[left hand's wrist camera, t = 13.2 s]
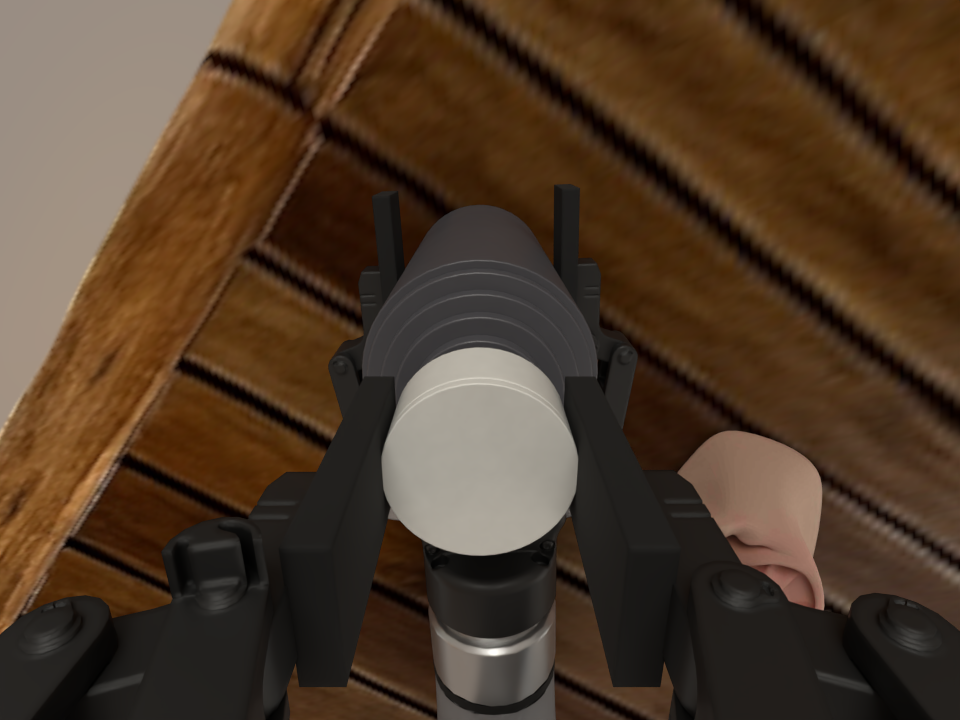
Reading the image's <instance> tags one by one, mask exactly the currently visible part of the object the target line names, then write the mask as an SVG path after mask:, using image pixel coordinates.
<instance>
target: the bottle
mask: <svg viewBox="0 0 960 720" xmlns="http://www.w3.org/2000/svg"><path fill="white" fill-rule="evenodd" d="M476 347H477V348H493V349H499V350H503V351H507V352H510V353H513V354H515V355H518V356H520V357H522V358H524V359H526V360H527V361H529V362H531V363H532V364H533V365H535V366H536V367H537V368H539V369H540V370H541V371H542V372H543V373H544V374H545V375H546V376H547V377H548V378H549V380H550V381H551V383H552V384H553V385H554V387H555V389H556V390H557V392H558V394H559V396H560V399H561V402H562V405H563V407H564V390H565V376H595V377H596V379H597V374H598V366H597V354H596V348H595V343H594V340H593V337H592V334H591V331H590V329H589V327H588V325H587V322H586V320H585V318H584V316H583V315H582V313H581V311H580V310H579V308H578V307H577V305H576V303H575V302H574V300H573V298H572V297H571V295H570V293H569V292H568V290H567V288H566V287H565V285H564V283H563V282H562V280H561V279H560V277H559V275H558V274H557V272H556V270H555V269H554V267H553V265H552V264H551V262H550V260H549V259H548V257H547V255H546V254H545V252H544V251H543V249H542V247H541V246H540V244H539V242H538V241H537V239H536V237H535V236H534V234H533V233H532V231H531V230H530V229H529V228H528V226H527V225H526V224H525V223H524V222H523V221H522V220H520V219H519V218H518V217H516V216H515V215H513V214H512V213H510V212H508V211H506V210H504V209H501V208H497V207H494V206H488V205H473V206H467V207H463V208H459V209H457V210H454V211H452V212H450V213H448V214H447V215H445V216H444V217H442V218H441V219H440V220H438V221H437V222H436V223H435V224H434V225H433V226H432V227H431V229H430V230H429V231H428V233H427V234H426V236H425V237H424V239H423V241H422V242H421V244H420V246H419V247H418V249H417V251H416V252H415V254H414V256H413V257H412V259H411V260H410V262H409V264H408V265H407V267H406V269H405V270H404V272H403V274H402V275H401V277H400V279H399V280H398V282H397V283H396V285H395V287H394V288H393V290H392V292H391V293H390V295H389V297H388V298H387V300H386V302H385V303H384V305H383V306H382V308H381V310H380V311H379V313H378V315H377V317H376V318H375V320H374V322H373V324H372V326H371V329H370V331H369V334H368V336H367V339H366V343H365V348H364V352H363V362H362V374H363V378H364V376H394V378H395V396H396V407H397V404H398V401H399V398H400V396H401V394H402V392H403V390H404V388H405V387H406V385H407V383H408V382H409V381H410V380H411V378H412V377H413V376H414V375H415V374H416V373H417V372H418V371H419V370H420V369H421V368H422V367H423V366H425V365H426V364H428V363H429V362H431V361H432V360H434V359H436V358H438V357H440V356H442V355H444V354H447V353H450V352H453V351H456V350H461V349H466V348H476Z"/></svg>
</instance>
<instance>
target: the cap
mask: <svg viewBox="0 0 960 720" xmlns="http://www.w3.org/2000/svg"><path fill="white" fill-rule="evenodd" d="M381 460H382V476H383V489H384V493H385V496H386V499H387V501H388V503H389V505H390V507H391V509H392V510H393V512H394V513H395V515H396V516H397V517H398V519H399V520H400V521H401V522H402V523H403V524H404V525H405V527H406V528H408V529H409V530H410V531H411V532H412V533H414V534H415V535H416V536H418V537H419V538H421V539H422V540H424V541H425V542H427V543H429V544H431V545H433V546H435V547H438V548H441V549H443V550H446V551H450V552H454V553H458V554H465V555H477V556H485V555H496V554H501V553H506V552H510V551H513V550H516V549H519V548H522V547H524V546H526V545H529V544H531V543H532V542H534V541H536V540H538V539H539V538H541V537H542V536H543V535H545V534H546V533H547V532H549V531H550V530H551V529H552V528H553V527H554V526H555V525H556V524H557V523H558V522H559V521H560V520H561V518H562V517H563V516H564V514H565V513H566V511H567V510H568V508H569V506H570V505H571V502H572V500H573V498H574V495H575V493H576V485H577V471H578V453H577V448H576V445H575V442H574V439H573V436H572V433H571V430H570V426H569V423H568V420H567V417H566V414H565V411H564V408H563V405H562V402H561V399H560V396H559V394H558V392H557V390H556V389H555V387H554V385H553V384H552V383H551V381H550V380H549V378H548V377H547V376H546V375H545V374H544V373H543V372H542V371H541V370H540V369H539V368H537V367H536V366H535V365H533V364H532V363H531V362H529V361H527V360H526V359H524V358H522V357H520V356H518V355H515V354H513V353H510V352H507V351H503V350H499V349H493V348H477V347H476V348H466V349H461V350H456V351H453V352H450V353H447V354H444V355H442V356H440V357H438V358H436V359H434V360H432V361H431V362H429V363H428V364H426V365H425V366H423V367H422V368H421V369H420V370H419V371H418V372H417V373H416V374H415V375H414V376H413V377H412V378H411V380H410V381H409V382H408V383H407V385H406V387H405V388H404V390H403V392H402V394H401V396H400V398H399V401H398V404H397V407H396V410H395V413H394V416H393V419H392V422H391V426H390V429H389V432H388V435H387V438H386V441H385V444H384V448H383V452H382V456H381Z"/></svg>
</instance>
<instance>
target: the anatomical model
mask: <svg viewBox="0 0 960 720" xmlns="http://www.w3.org/2000/svg"><path fill="white" fill-rule="evenodd" d="M678 474H679V475H680V476H682V477H683V478H685V479H686V480H687V481H689V482H690V483H691V484H692V485H693V486H694V488H695V489H696V491H697V493H698V494H699V496H700V497H701V499H702V502H703V504H705V505H706V507H707V509H708V510H709V512H710V513H711V518H714V520H715V521H716V523H717V524H718V526H719V528H720V529H721V531H722V532H723V534H724V536H725V537H726V539H727V540H728V542H729V544H730V545H731V547H732V548H733V550H734V552H735V553H736V555H737V556H738V558H739V560H740V561H741V563H742V564H744V565H748V566H750V567H752V568H754V569H756V570H758V571H760V572H762V573H764V574H766V575H767V576H768V577H770V578H771V579H772V580H773V581H774V582H776V583H777V584H778V585H779V586H780V587H781V589H782V591H783V592H784V594H785V595H786V597H787V598H788V601H790V602H793V603H797V604H800V605H803V606H807V607H811V608H815V609H820V610H824V594H823V588H822V583H821V579H820V576H819V573H818V570H817V567H816V564H815V562H814V560H813V554H814V550H815V545H816V540H817V535H818V530H819V522H820V515H821V505H822V485H821V480H820V476H819V474H818V472H817V470H816V468H815V467H814V466H813V464H812V463H811V462H810V461H809V460H808V459H807V458H806V457H804V456H803V455H801V454H800V453H798V452H797V451H795V450H794V449H792V448H790V447H788V446H786V445H784V444H781V443H779V442H776V441H774V440H771V439H768V438H765V437H762V436H759V435H756V434H752V433H747V432H742V431H724V432H721V433H718V434H716V435H714V436H712V437H711V438H709V439H708V440H707V441H705V442H704V443H703V444H702V445H701V446H700V447H699V448H698V449H697V450H696V451H695V452H694V454H693V455H692V456H691V457H690V458H689V459H688V461H687V462H686V463H685V464H684V465H683V466H682V467H681V469H680V470H679V471H678Z"/></svg>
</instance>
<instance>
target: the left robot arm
mask: <svg viewBox="0 0 960 720" xmlns="http://www.w3.org/2000/svg"><path fill="white" fill-rule="evenodd" d="M563 408H564V411H565V414H566V417H567V420H568V423H569V426H570V430H571V433H572V436H573V439H574V442H575V445H576V448H577V453H578V471H577V485H576V493H575V495H574V498H573V500H572V502H571V505H570V506H569V509H570V513H571V517H572V521H573V525H574V529H575V534H576V538H577V542H578V546H579V550H580V554H581V558H582V562H583V566H584V570H585V574H586V578H587V582H588V586H589V590H590V594H591V599H592V603H593V607H594V611H595V615H596V619H597V623H598V627H599V631H600V635H601V639H602V643H603V647H604V651H605V655H606V659H607V664H608V668H609V672H610V676H611V680H612V684H613V687H660V685H661V678H662V672H663V665H664V662H665V665H666V667H667V670H668V673H669V676H670V679H671V681H672V684H673V687H674V689H673V695H672V701H671V708H670V714H669V720H960V631H959V630H958V629H957V628H955V627H954V626H953V625H952V624H950V623H949V622H948V621H947V620H945V619H944V618H943V617H941V616H940V615H939V614H938V613H936V612H934V611H932V610H930V609H928V608H926V607H924V606H922V605H920V604H919V603H917V602H914V601H911V600H908V599H905V598H902V597H899V596H896V595H889V594H880V593H872V594H867V595H861V596H859V597H858V598H857V599H856V600H855V601H854V602H853V603H852V604H851V608H850V611H849V615H848V616H846V615H841V614H837V613H833V612H828V611H824V610H820V609H815V608H811V607H807V606H803V605H800V604H797V603H793V602H790V601H788V598H787V597H786V595H785V594H784V592H783V591H782V589H781V587H780V586H779V585H778V584H777V583H776V582H774V581H773V580H772V579H771V578H770V577H768V576H767V575H766V574H764V573H762V572H760V571H758V570H756V569H754V568H752V567H750V566H748V565H744V564H742V563H741V561H740V560H739V558H738V556H737V555H736V553H735V552H734V550H733V548H732V547H731V545H730V544H729V542H728V540H727V539H726V537H725V536H724V534H723V532H722V531H721V529H720V528H719V526H718V524H717V523H716V521H715V520H714V518H711V513H710V512H709V510H708V509H707V507H706V505H705V504H703V502H702V499H701V497H700V496H699V494H698V493H697V491H696V489H695V488H694V486H693V485H692V484H691V483H690V482H689V481H687V480H686V479H685V478H683V477H682V476H680V475H679V474H678V473H676V472H675V471H674V470H642V469H641V467H640V465H639V463H638V461H637V459H636V457H635V455H634V453H633V451H632V449H631V447H630V445H629V443H628V441H627V439H626V437H625V435H624V433H623V431H622V429H621V427H620V425H619V423H618V421H617V419H616V417H615V415H614V413H613V411H612V409H611V407H610V405H609V403H608V401H607V399H606V397H605V395H604V393H603V391H602V389H601V387H600V385H599V383H598V381H597V379H596V377H595V376H565V390H564V407H563ZM395 410H396V396H395V378H394V376H364V378H363V380H362V382H361V384H360V386H359V388H358V390H357V392H356V394H355V396H354V398H353V400H352V402H351V404H350V406H349V408H348V410H347V412H346V414H345V416H344V418H343V420H342V422H341V424H340V426H339V428H338V430H337V432H336V434H335V436H334V438H333V440H332V442H331V444H330V446H329V448H328V450H327V452H326V454H325V456H324V458H323V460H322V462H321V464H320V466H319V468H318V470H317V472H286V473H284V474H283V475H282V476H280V477H279V478H278V479H276V480H275V481H274V482H272V483H271V484H270V485H268V486H267V488H266V489H265V491H264V493H263V494H262V496H261V497H260V499H259V501H258V502H257V506H255V507H254V509H253V510H252V512H251V514H250V515H249V520H247V519H244V518H240V517H221V518H216V519H212V520H208V521H203V522H201V523H198V524H196V525H194V526H192V527H189V528H187V529H185V530H183V531H182V532H181V533H179V534H178V535H177V536H175V537H174V538H172V539H171V540H170V541H169V542H168V544H167V545H166V546H165V548H164V549H163V550H162V552H161V553H162V557H163V561H164V565H165V569H166V573H167V578H168V582H169V586H170V590H171V594H172V598H173V599H172V602H171V603H170V604H168V605H164V606H161V607H158V608H155V609H151V610H146V611H142V612H138V613H133V614H129V615H125V616H120V617H116V618H112V616H111V613H110V609H109V606H108V605H107V604H106V603H105V602H104V601H103V600H102V599H100V598H96V597H91V596H86V595H84V596H76V597H67V598H63V599H60V600H57V601H54V602H51V603H48V604H45V605H43V606H41V607H39V608H37V609H35V610H33V611H31V612H30V613H28V614H26V615H24V616H22V617H21V618H20V619H18V620H17V621H16V622H15V623H13V624H12V625H11V626H10V627H8V628H7V629H6V630H5V631H3V632H2V633H1V634H0V720H289V716H290V709H289V702H288V695H287V686H288V683H289V680H290V678H291V675H292V672H293V669H294V666H295V663H296V668H297V674H298V681H299V687H346V686H347V682H348V678H349V674H350V670H351V666H352V662H353V658H354V654H355V650H356V646H357V642H358V638H359V634H360V630H361V626H362V621H363V617H364V613H365V609H366V605H367V601H368V597H369V593H370V589H371V585H372V581H373V577H374V573H375V569H376V565H377V561H378V556H379V552H380V548H381V544H382V540H383V536H384V532H385V528H386V524H387V520H388V516H389V512H390V508H391V507H390V505H389V503H388V501H387V499H386V496H385V493H384V489H383V476H382V460H381V456H382V452H383V448H384V444H385V441H386V438H387V435H388V432H389V429H390V426H391V422H392V419H393V416H394V413H395Z"/></svg>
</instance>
